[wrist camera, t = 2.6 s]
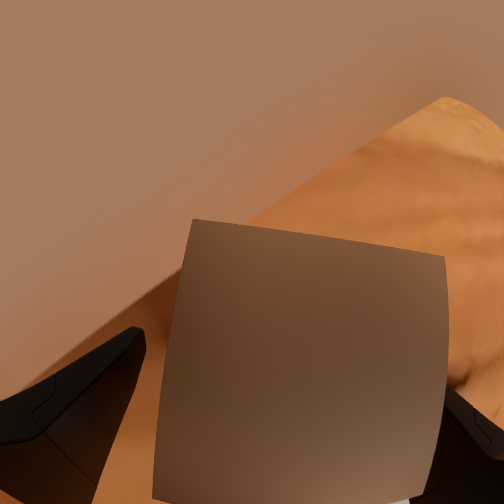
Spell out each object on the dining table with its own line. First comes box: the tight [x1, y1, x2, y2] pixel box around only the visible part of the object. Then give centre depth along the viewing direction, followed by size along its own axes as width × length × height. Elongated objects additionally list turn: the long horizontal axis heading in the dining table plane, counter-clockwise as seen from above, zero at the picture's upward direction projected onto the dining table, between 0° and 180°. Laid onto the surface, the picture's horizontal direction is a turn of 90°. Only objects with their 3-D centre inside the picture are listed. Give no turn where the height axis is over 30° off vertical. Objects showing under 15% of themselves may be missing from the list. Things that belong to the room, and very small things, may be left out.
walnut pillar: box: [152, 219, 449, 504], centre depth 10 cm, size 4×4×13 cm
